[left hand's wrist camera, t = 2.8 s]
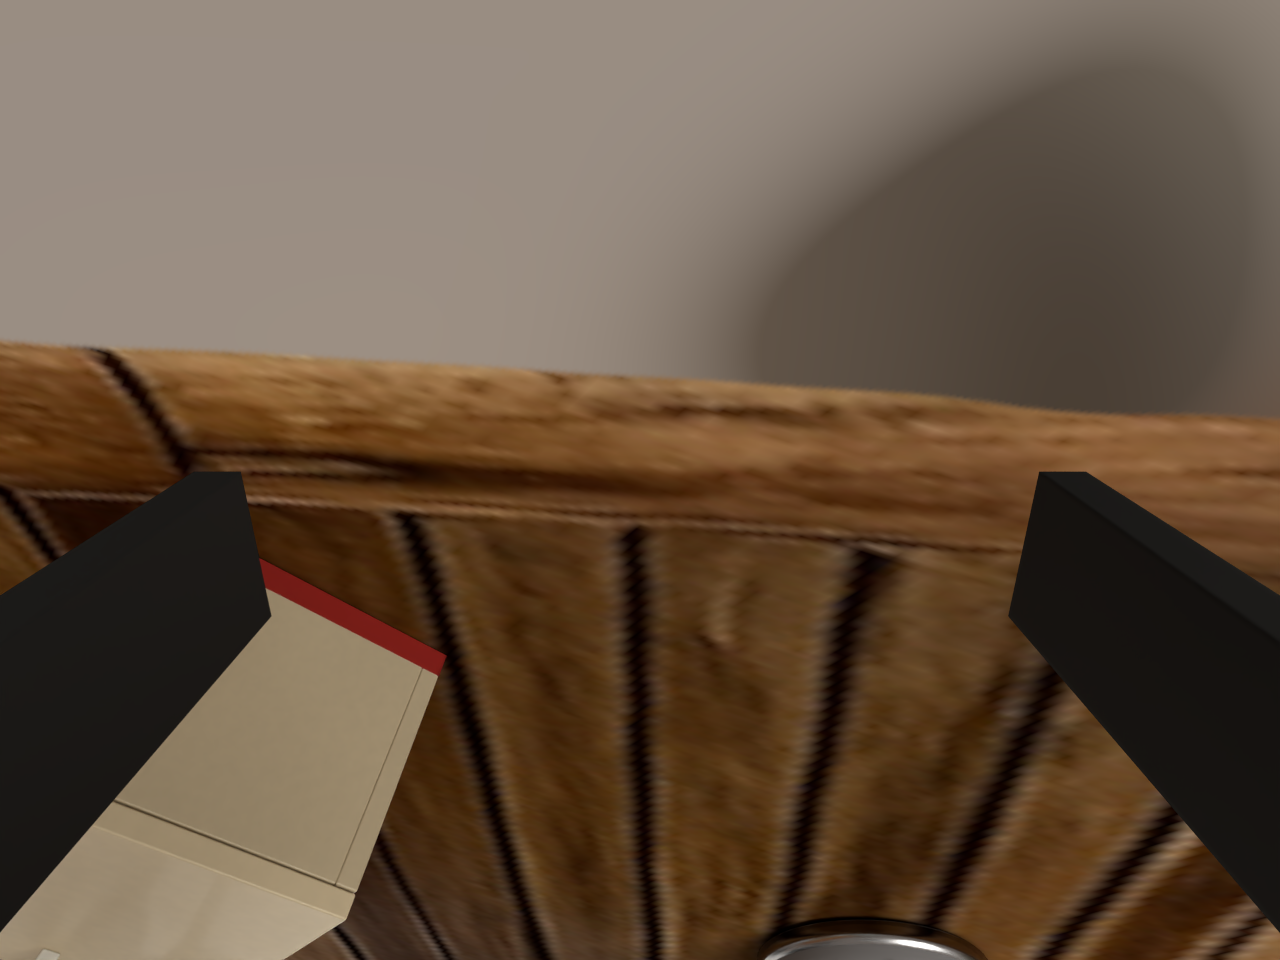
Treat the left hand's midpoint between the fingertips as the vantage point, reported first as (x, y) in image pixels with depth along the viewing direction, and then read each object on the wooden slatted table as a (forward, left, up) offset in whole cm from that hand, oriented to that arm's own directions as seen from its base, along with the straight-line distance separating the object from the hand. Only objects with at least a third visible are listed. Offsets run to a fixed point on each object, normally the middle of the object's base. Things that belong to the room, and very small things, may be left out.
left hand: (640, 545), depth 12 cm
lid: (-21, +21, -1) cm, 30 cm away
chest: (-21, +21, -11) cm, 31 cm away
